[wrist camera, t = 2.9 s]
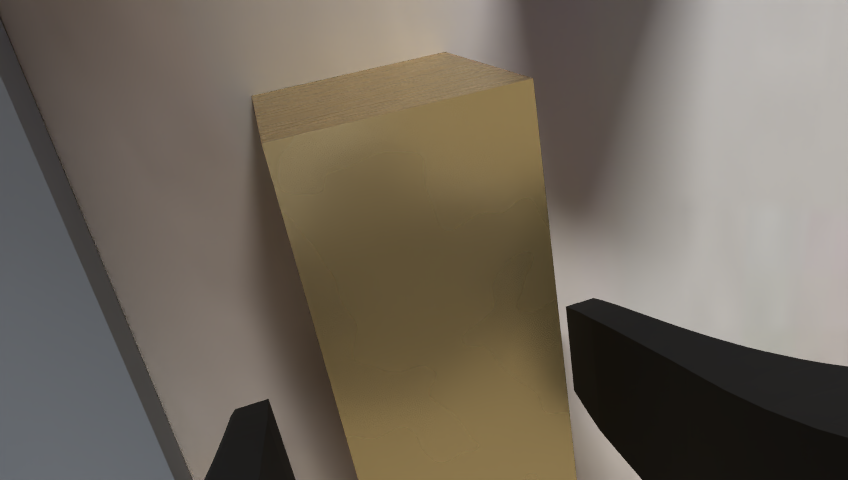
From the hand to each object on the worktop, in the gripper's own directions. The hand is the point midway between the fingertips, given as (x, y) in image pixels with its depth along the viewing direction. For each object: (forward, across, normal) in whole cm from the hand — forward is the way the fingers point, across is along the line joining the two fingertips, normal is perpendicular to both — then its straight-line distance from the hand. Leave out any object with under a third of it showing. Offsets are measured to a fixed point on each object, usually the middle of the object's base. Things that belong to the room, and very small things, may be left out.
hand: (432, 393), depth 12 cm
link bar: (+2, 0, 0) cm, 2 cm away
